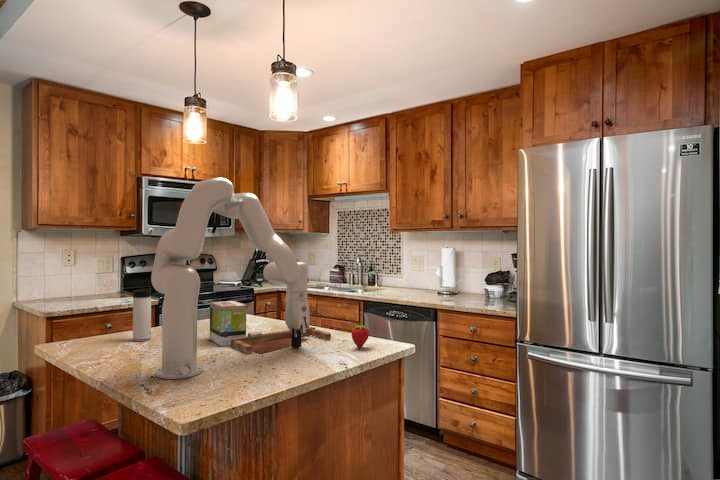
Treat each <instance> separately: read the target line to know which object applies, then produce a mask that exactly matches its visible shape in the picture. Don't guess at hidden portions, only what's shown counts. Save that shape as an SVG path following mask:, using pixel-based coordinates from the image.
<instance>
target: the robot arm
mask: <svg viewBox="0 0 720 480" xmlns="http://www.w3.org/2000/svg"><path fill="white" fill-rule="evenodd" d="M234 188H235V187H234V185H233V183H232V182H231V180H229V179H228V178H225V177H221V176H219V177H213V178H209V179H204V180H201V181H198V182H196V183H195V184H194V185H193V186H192V188H191V190H190V192H189V193H188V194H187V195H186V197H185V198H184V199H183V202H182V203H181V205H180V209H179V212H178V217H177V219H176V224H175V228H172V229H169V230H167V231H165V232H164V233H163V234H162V235H161V237H160V239H159V241H158V244H157V248H156V252H155V257H154V260H153V261H154V262H153V266H152V270H151V275H150V280H151V284H152V287H153V288H154V290H155V291H156V292H158V293H159V294H161V295H162V294H163V295H164V297H163V301H162V307H161V309H162V310H161V367H159V368H157V369H156V370H155V376H156V377H157V378H160V379H164V380H179V379H180V380H181V379H186V378H191V377H194V376H197V375H199V374H201V373H202V372H203V366H202V365H201V364H200V363H199V364H198V303H199V302H198V301H199V294H200V289H201V278H200V276H199V273H198V271H197V270H196V269H195V268H194V267H192V266H190V265H187V261H190V260H191V261H192V260H194V259H197V258H198V257H200V255H201V253H202V251H203V248H204V243H205V238H206V234H207V233H206V232H207V227H208V225H209V220H210V217H211V215H212V213H215V214H217V215H220V216H223V217H226V218H229V219H234V220H237V219H238V220H239V222H240V224H241V226H242V227H243V229H244V231H245V234H246V236H247V238H248V240H249V242H250V243H251V244H252V245H253V247H254V246H255V247H256V248H257V249H259V250H260V251H262V252H264V253H266V254H267V255H268V256H269V257H270V258H271V259H272V260H273V261H271V262H269V263H267V264H266V265H265V266H264V268H263V277H264V278H265V280H266V281H268V282H270V283H273V284H280V285H286V286H285V287H286V289H285V292H286V293H285V294H286V295H285V297H286V299H285V301H286V303H285V312H284V321H285V325H286V326H287V329H288V330H290V332H291V346H290V347H291V348H293V349H298V348H301V347H302V342H301V338H302V337H301V336H302V333H305V332H306V328H309V327H311V318H310V306H309V305H310V304H309V302H308V274H309V273H308V264H307V262H303V261H297V259H296V257H295V255H294V253H293V252H292V250H291V248H290V246H288V244H287V243H286V242H285V241H284V240H282V238H281V237H280V236H279V235H278V234H277V233H276V232H275V231H274V229H273V227H272V225H271V222H270V220H269V218H268V216H267V214H266V212H265V209H264V208H263V205H262V203H261V201H260V199H259V198H258V196H257V195H256V194H255V193H251V192H238V193H234V190H235V189H234Z"/></svg>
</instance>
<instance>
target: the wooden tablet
mask: <svg viewBox="0 0 720 480" xmlns="http://www.w3.org/2000/svg"><path fill="white" fill-rule="evenodd" d="M308 339H309V338H305V337H301V343H304V342H306V340H307V341H309V340H308ZM303 341H304V342H303ZM251 346H252V353H255V354H258V355H261V354H265V353H270V352H273V351H278V350H281V349H286V348H287V347H291V338H286V339H280V340H274V341H269V342H264V343H259V344H255V345H251Z"/></svg>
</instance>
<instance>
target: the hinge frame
mask: <svg viewBox="0 0 720 480" xmlns="http://www.w3.org/2000/svg"><path fill="white" fill-rule="evenodd" d="M331 334H332V333H330V332H327V331H323V330H320V329H316V327H313V326H310V327H309V328H306V332H305V333H302V336H301V338H305V337H304V336H307V337H313V336H315V337H314V338H316V337H318V338H317V339H320V338H322V339H321V340H323V339H325V340H324V341H326V340H328V341H331V340H332V335H331ZM310 335H312V336H310ZM286 338H291V332H290V330H289V329H288V330H281V331H275V332H267V333H262V332H259V331H254V332H253V331H252V332H248V333H247V335H246V336H245V337H238V338H231V345H230V347H231V348H232V349H235V350H237V351H239V352H241V353H243V354H245V355H252V354H253V352H252V345H255V344H259V343H264V342H269V341H274V340H280V339H286ZM330 339H331V340H330Z"/></svg>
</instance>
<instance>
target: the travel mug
mask: <svg viewBox="0 0 720 480" xmlns="http://www.w3.org/2000/svg"><path fill="white" fill-rule="evenodd" d="M151 294H152V287H148V286H147V287H146V288H145V287H144V288H138V289H135V290H133V291H132V295H133V296H132V341H133V342H136V343H138V342H139V343H141V342H142V341H143V342H149V341H150V340H151V339H152V295H151ZM143 342H142V343H143Z"/></svg>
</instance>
